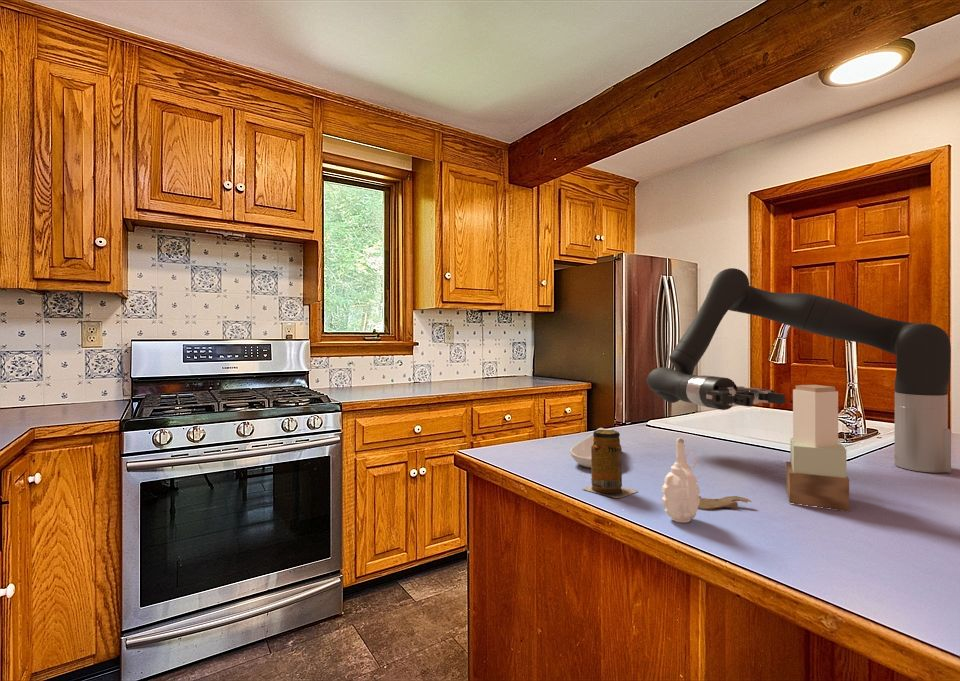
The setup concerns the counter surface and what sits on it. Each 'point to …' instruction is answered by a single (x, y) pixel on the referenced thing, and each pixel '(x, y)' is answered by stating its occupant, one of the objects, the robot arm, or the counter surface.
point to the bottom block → (817, 490)
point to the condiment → (607, 465)
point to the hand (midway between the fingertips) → (768, 400)
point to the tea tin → (815, 415)
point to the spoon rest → (584, 451)
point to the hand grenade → (681, 488)
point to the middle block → (818, 459)
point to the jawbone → (720, 502)
